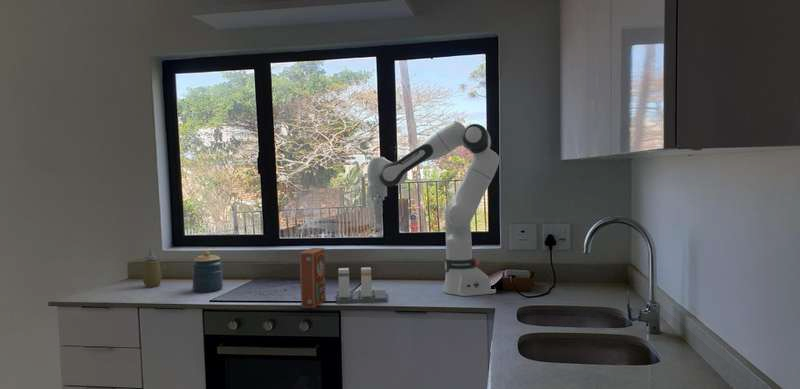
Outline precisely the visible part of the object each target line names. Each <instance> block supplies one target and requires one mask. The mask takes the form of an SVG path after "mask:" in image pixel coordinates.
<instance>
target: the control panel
mask: <svg viewBox="0 0 800 389" xmlns="http://www.w3.org/2000/svg"><path fill="white" fill-rule="evenodd" d="M325 257H326V256H325V248H324V247H311V248H308V249H306V250H303V251H300V253H299V279H300V296H301V297H300V298H301V299H300V301H301V304H300V305H301V309H315V308H317V307H318V306H319V305H321V304H322V303H323V302H325V301H326V300H327V299H326V297H327V296H326V259H325Z"/></svg>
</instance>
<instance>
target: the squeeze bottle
mask: <svg viewBox="0 0 800 389" xmlns="http://www.w3.org/2000/svg"><path fill="white" fill-rule="evenodd" d="M142 275H143V276H142V281H143V284H144V287H145V288H157V287H160V285H161V282H162V278H163V277H162V271H161V263H160V260H158V255H156V254H155V251H154V249H153V248H149V252H148V256H145V261H144V262H143V272H142Z"/></svg>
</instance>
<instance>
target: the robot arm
mask: <svg viewBox="0 0 800 389" xmlns="http://www.w3.org/2000/svg"><path fill="white" fill-rule="evenodd" d="M459 147H464V148H465V149H466V150H467V151H469V152H470V153H471V154H473V159H472V160H471V163H470V165H469V168H468V169H467V171H466V172H465V174H464V176H463V177H462V179H461V181H460V183H459V186H458V188H457V190H456V191H455V194H454V195H453V197H452V200H451V201H450V202H449V203H448V204H447V205H446V207H445V210H444V224H445V226H444V227H445V230H444V231H445V258H444V270H445V278H444V279H445V280H444V285H443V287H442V288H443V289H442V292H443V293H445V294H450V295H455V296H456V295H457V296H460V297H470V296H480V295H481V296H482V295H490V294H491V295H492V294H496V293H497V289H496V288H495V289H491V286H492V285H491V281H490V277H489V276H488V275H487V274H486V273H485V272H484V271H482V270H481V269H480V268H478V267H477V266H479V265H480V261H479V260H478V259H475V258H473V245H472V244H473V243H472V242H473V240H472V230H471V228H472V227H471V222H472V219H473V218H474V216H475V214H476V213H477V210H478V208H479V207H480V206H479V205H480V203H481V202H482V199H483V196H484V195H485V193H486V191H487V190H488V188H489V186H490V184H491V183H492V180H493V179H494V177H495V174H496V172H497V170H498V167H499V164H500V160H501V158H500V156H499V154H497V152H495V151H494V150H492V138H491V135H490V133H489V132H488V130H487V128H485V126H483V125H481V124H479V123H472V124H469V125H467V126H464V125H463V123H461V122H459V121H453V122H450V123H448V124H446V125H444V126H442V127H440V128H439V129H438V130H436V131H435V132H433V133H432V134H431V135H429V136H428V137H427V138H426V139H425V140H424V141H423V142H421V144H420V145H419V146H417V147H416V148H414V149H413V150H411V151H410V152H408V154H406V155H404V156H403V157H401V158H400V159H398V160H396V161H390V160H388V159H387V158H385V157H384V156H377V157H372V158H371V159H370V158H369V160H368V162H367V167H366V168H367V169H366V170H367V171H366V176H367V198H370V201H371V202H372V203H371V204H372V208H373V209H372V210H373V213H374V215H375V223H376V224H381V215H382V214H383V213H384V210H383V209H384V208H383V201H385V197H388V187H394V186H398V185H402V184H404V183H405V182H406V180H407V179H408V172H410V171H411V170H412V169H414V168H416V167H417V166H419V165H420V164H422V163H424V162H428V161H433V160H438V159H440V158H442V157H443V158H444V156H447V155H448V154H449V153H451V152H452V151H454V150H456V149H457V148H459Z"/></svg>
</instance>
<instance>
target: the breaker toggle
mask: <svg viewBox="0 0 800 389" xmlns="http://www.w3.org/2000/svg"><path fill="white" fill-rule="evenodd" d="M360 278H361V279H360V283H361V285H360V286H361V287H360V288H361V289H360V291H361V292H362V297H368V296H372V292H371V290H372V268H371V267H367V266H366V267H365V266H364V267H361V268H360Z"/></svg>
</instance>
